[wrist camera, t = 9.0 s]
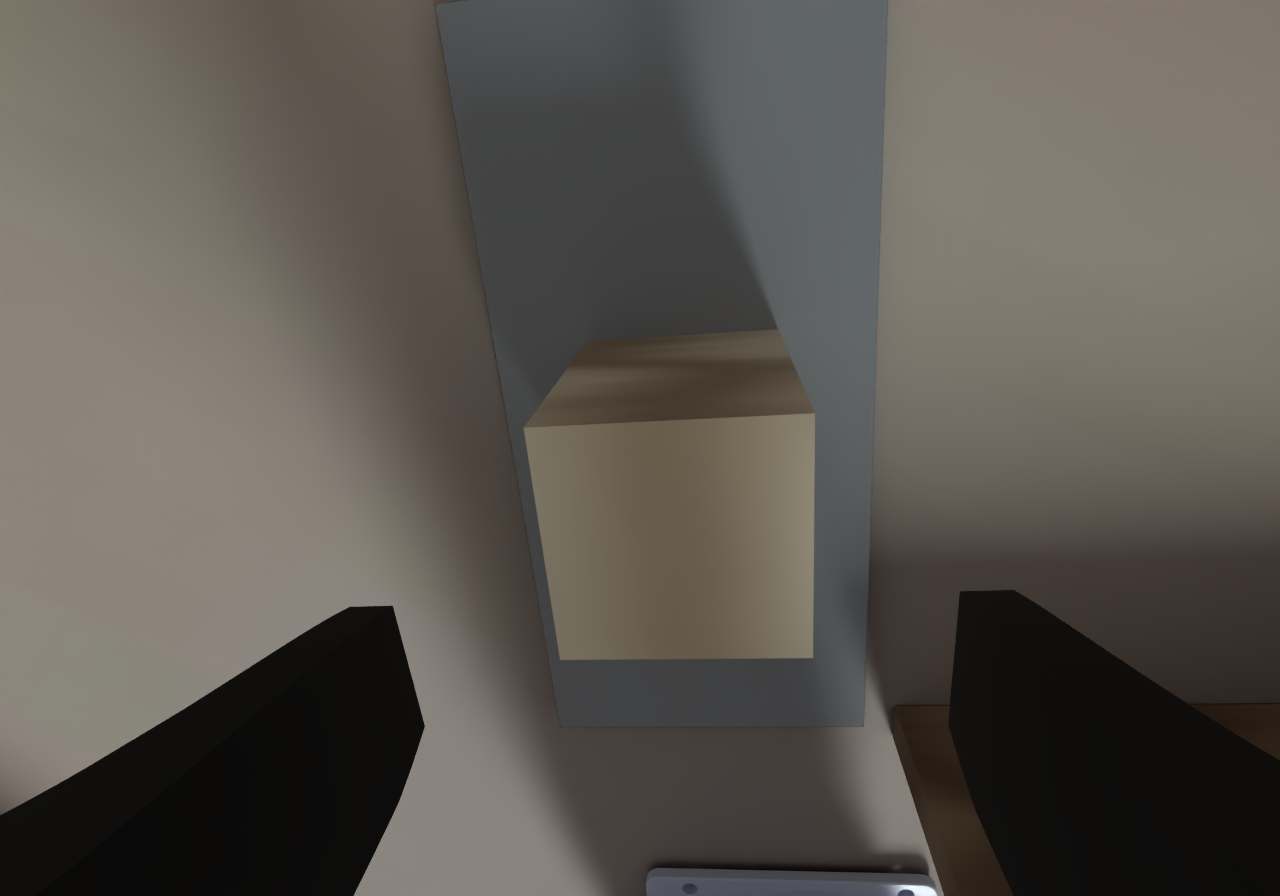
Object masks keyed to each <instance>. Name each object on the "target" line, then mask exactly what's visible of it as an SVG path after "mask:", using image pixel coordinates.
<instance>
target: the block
mask: <svg viewBox="0 0 1280 896" xmlns="http://www.w3.org/2000/svg"><path fill="white" fill-rule="evenodd" d="M524 433H525V440H526V446H527V453H528V459H529V465H530V472H531V478H532V484H533V491H534V497H535V504H536V510H537V516H538V523H539V529H540V535H541V542H542V548H543V554H544V561H545V567H546V574H547V580H548V586H549V593H550V599H551V605H552V612H553V618H554V625H555V631H556V637H557V644H558V650H559V656H560V660H628V659H757V658H813V602H814V478H815V412H814V410H813V408H812V405H811V403H810V401H809V398H808V396H807V394H806V392H805V389H804V387H803V385H802V382H801V380H800V378H799V376H798V373H797V371H796V369H795V366H794V364H793V362H792V360H791V357H790V355H789V353H788V350H787V348H786V346H785V344H784V341H783V339H782V337H781V334H780V332H779V330H778V329H773V330H758V331H742V332H726V333H711V334H695V335H680V336H664V337H649V338H633V339H617V340H602V341H587V342H586V343H585V345H584V346H583V347H582V349H581V350H580V351H579V353H578V354H577V356H576V357H575V358H574V360H573V361H572V362H571V364H570V365H569V366H568V368H567V369H566V371H565V372H564V373H563V375H562V376H561V377H560V379H559V380H558V381H557V383H556V384H555V386H554V387H553V388H552V390H551V391H550V392H549V394H548V395H547V396H546V398H545V399H544V401H543V402H542V403H541V405H540V406H539V407H538V409H537V410H536V412H535V413H534V414H533V416H532V417H531V418H530V420H529V421H528V422H527V424H526V425H525V427H524Z"/></svg>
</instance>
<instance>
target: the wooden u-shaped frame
mask: <svg viewBox="0 0 1280 896" xmlns="http://www.w3.org/2000/svg"><path fill="white" fill-rule="evenodd" d="M1190 706H1192V707H1193V708H1195V709H1197V710H1198V711H1200V712H1201V713H1203V714H1204V715H1206V716H1208V717H1209V718H1211V719H1212V720H1214V721H1216V722H1217V723H1219V724H1220V725H1222V726H1224V727H1225V728H1227V729H1229V730H1230V731H1232V732H1233V733H1235V734H1237V735H1238V736H1240V737H1241V738H1243V739H1245V740H1246V741H1248V742H1250V743H1251V744H1253V745H1255V746H1256V747H1258V748H1260V749H1261V750H1263V751H1265V752H1266V753H1268V754H1270V755H1272V756H1273V757H1275V758H1277V759H1278V760H1280V704H1197V705H1190ZM949 710H950V706H895V711H894V730H893V739H894V742H895V745H896V748H897V751H898V754H899V757H900V760H901V763H902V767H903V770H904V773H905V776H906V779H907V782H908V785H909V788H910V791H911V794H912V797H913V800H914V804H915V807H916V810H917V813H918V816H919V819H920V822H921V825H922V828H923V831H924V834H925V837H926V841H927V844H928V847H929V850H930V853H931V856H932V859H933V862H934V865H935V868H936V871H937V874H938V877H939V881H940V884H941V887H942V890H943V893H944V896H1013V894H1012V892H1011V889H1010V887H1009V885H1008V883H1007V881H1006V878H1005V876H1004V874H1003V872H1002V869H1001V867H1000V865H999V863H998V860H997V858H996V856H995V854H994V851H993V849H992V847H991V845H990V843H989V840H988V838H987V836H986V834H985V831H984V829H983V827H982V824H981V822H980V820H979V818H978V815H977V813H976V811H975V808H974V805H973V802H972V799H971V796H970V793H969V790H968V787H967V784H966V781H965V778H964V775H963V772H962V769H961V766H960V762H959V759H958V756H957V753H956V749H955V746H954V743H953V739H952V736H951V733H950V730H949V726H948V721H949Z"/></svg>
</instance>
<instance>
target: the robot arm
mask: <svg viewBox="0 0 1280 896" xmlns="http://www.w3.org/2000/svg"><path fill="white" fill-rule="evenodd" d="M948 726H949V730H950V733H951V736H952V739H953V743H954V746H955V749H956V753H957V756H958V759H959V762H960V766H961V769H962V772H963V775H964V778H965V781H966V784H967V787H968V790H969V793H970V796H971V799H972V802H973V805H974V808H975V811H976V813H977V815H978V818H979V820H980V822H981V824H982V827H983V829H984V831H985V834H986V836H987V838H988V840H989V843H990V845H991V847H992V849H993V851H994V854H995V856H996V858H997V860H998V863H999V865H1000V867H1001V869H1002V872H1003V874H1004V876H1005V878H1006V881H1007V883H1008V885H1009V887H1010V889H1011V892H1012V894H1013V896H1280V760H1278V759H1277V758H1275V757H1273V756H1272V755H1270V754H1268V753H1266V752H1265V751H1263V750H1261V749H1260V748H1258V747H1256V746H1255V745H1253V744H1251V743H1250V742H1248V741H1246V740H1245V739H1243V738H1241V737H1240V736H1238V735H1237V734H1235V733H1233V732H1232V731H1230V730H1229V729H1227V728H1225V727H1224V726H1222V725H1220V724H1219V723H1217V722H1216V721H1214V720H1212V719H1211V718H1209V717H1208V716H1206V715H1204V714H1203V713H1201V712H1200V711H1198V710H1197V709H1195V708H1193V707H1192V706H1190V705H1189V704H1187V703H1186V702H1184V701H1182V700H1181V699H1179V698H1178V697H1176V696H1175V695H1173V694H1172V693H1170V692H1169V691H1167V690H1165V689H1164V688H1162V687H1161V686H1159V685H1158V684H1156V683H1155V682H1153V681H1152V680H1150V679H1149V678H1147V677H1145V676H1144V675H1142V674H1141V673H1139V672H1138V671H1136V670H1135V669H1133V668H1132V667H1130V666H1129V665H1127V664H1126V663H1124V662H1123V661H1121V660H1120V659H1118V658H1117V657H1115V656H1114V655H1112V654H1111V653H1109V652H1108V651H1106V650H1105V649H1103V648H1102V647H1100V646H1099V645H1097V644H1096V643H1095V642H1093V641H1092V640H1090V639H1089V638H1087V637H1086V636H1084V635H1083V634H1081V633H1080V632H1078V631H1077V630H1075V629H1074V628H1072V627H1071V626H1069V625H1068V624H1066V623H1065V622H1063V621H1062V620H1060V619H1059V618H1057V617H1056V616H1054V615H1053V614H1051V613H1050V612H1048V611H1047V610H1045V609H1044V608H1042V607H1041V606H1039V605H1037V604H1036V603H1034V602H1033V601H1031V600H1030V599H1028V598H1026V597H1025V596H1023V595H1021V594H1020V593H1018V592H1016V591H1014V590H1001V591H961V592H960V598H959V609H958V620H957V631H956V643H955V654H954V665H953V676H952V687H951V699H950V710H949V721H948ZM424 727H425V725H424V722H423V718H422V714H421V710H420V707H419V703H418V699H417V695H416V692H415V688H414V684H413V680H412V677H411V673H410V669H409V665H408V661H407V658H406V654H405V650H404V646H403V643H402V639H401V635H400V631H399V628H398V624H397V620H396V616H395V613H394V609H393V606H368V607H349V608H347V609H345V610H343V611H341V612H339V613H337V614H335V615H334V616H332V617H330V618H328V619H327V620H325V621H323V622H321V623H320V624H318V625H316V626H315V627H313V628H311V629H310V630H308V631H306V632H305V633H303V634H302V635H300V636H298V637H297V638H295V639H294V640H292V641H290V642H289V643H287V644H286V645H284V646H283V647H281V648H279V649H278V650H276V651H275V652H273V653H272V654H270V655H268V656H267V657H265V658H264V659H262V660H261V661H259V662H257V663H256V664H254V665H253V666H251V667H250V668H248V669H246V670H245V671H243V672H242V673H240V674H239V675H237V676H236V677H234V678H232V679H231V680H229V681H228V682H226V683H225V684H223V685H221V686H220V687H218V688H217V689H215V690H214V691H212V692H210V693H209V694H207V695H206V696H204V697H203V698H201V699H199V700H198V701H196V702H195V703H193V704H192V705H190V706H188V707H187V708H185V709H184V710H182V711H180V712H179V713H177V714H175V715H174V716H172V717H170V718H169V719H167V720H165V721H164V722H162V723H160V724H159V725H157V726H155V727H154V728H152V729H150V730H149V731H147V732H145V733H144V734H142V735H140V736H139V737H137V738H135V739H134V740H132V741H130V742H129V743H127V744H125V745H124V746H122V747H120V748H119V749H117V750H115V751H114V752H112V753H110V754H109V755H107V756H105V757H104V758H102V759H100V760H99V761H97V762H95V763H94V764H92V765H90V766H89V767H87V768H85V769H84V770H82V771H80V772H78V773H77V774H75V775H73V776H71V777H70V778H68V779H66V780H64V781H63V782H61V783H59V784H57V785H56V786H54V787H52V788H50V789H48V790H46V791H45V792H43V793H41V794H39V795H37V796H36V797H34V798H32V799H30V800H28V801H27V802H25V803H23V804H21V805H19V806H17V807H15V808H13V809H12V810H10V811H8V812H6V813H4V814H2V815H0V896H353V895H354V893H355V891H356V889H357V887H358V885H359V883H360V881H361V879H362V877H363V875H364V873H365V871H366V869H367V867H368V865H369V863H370V861H371V859H372V857H373V855H374V853H375V851H376V849H377V847H378V845H379V842H380V840H381V838H382V836H383V834H384V832H385V830H386V828H387V826H388V824H389V822H390V820H391V818H392V815H393V813H394V811H395V809H396V807H397V805H398V803H399V800H400V797H401V795H402V792H403V789H404V786H405V784H406V781H407V778H408V775H409V773H410V770H411V767H412V764H413V761H414V758H415V755H416V752H417V749H418V746H419V743H420V740H421V737H422V734H423V730H424ZM646 892H647V896H938V893H937V889H936V886H935V883H934V881H933V880H932V878H930V877H928V876H926V875H923V874H901V873H859V872H816V871H774V870H732V869H689V868H655V869H653V870H651V871H649V873H648V874H647V879H646Z"/></svg>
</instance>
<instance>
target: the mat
mask: <svg viewBox="0 0 1280 896" xmlns="http://www.w3.org/2000/svg"><path fill="white" fill-rule="evenodd" d="M435 7H436V13H437V19H438V25H439V31H440V36H441V42H442V48H443V54H444V59H445V65H446V71H447V77H448V82H449V88H450V94H451V100H452V106H453V111H454V117H455V123H456V129H457V134H458V140H459V146H460V152H461V158H462V163H463V169H464V175H465V181H466V186H467V192H468V198H469V204H470V209H471V215H472V221H473V227H474V233H475V238H476V244H477V250H478V256H479V261H480V267H481V273H482V279H483V284H484V290H485V296H486V302H487V308H488V313H489V319H490V325H491V331H492V336H493V342H494V348H495V354H496V360H497V365H498V371H499V377H500V383H501V388H502V394H503V400H504V406H505V411H506V417H507V423H508V429H509V435H510V440H511V446H512V452H513V458H514V463H515V469H516V475H517V481H518V487H519V492H520V498H521V504H522V510H523V515H524V521H525V527H526V533H527V538H528V544H529V550H530V556H531V562H532V567H533V573H534V579H535V585H536V590H537V596H538V602H539V608H540V613H541V619H542V625H543V631H544V637H545V642H546V648H547V654H548V660H549V665H550V671H551V677H552V683H553V689H554V694H555V700H556V706H557V712H558V717H559V723H560V727H864V707H865V677H866V647H867V617H868V587H869V557H870V527H871V497H872V467H873V437H874V407H875V377H876V347H877V317H878V287H879V257H880V227H881V197H882V167H883V137H884V107H885V76H886V46H887V16H888V0H464V1H456V2H449V3H442V4H435ZM773 329H778V330H779V332H780V334H781V337H782V339H783V341H784V344H785V346H786V348H787V350H788V353H789V355H790V357H791V360H792V362H793V364H794V366H795V369H796V371H797V373H798V376H799V378H800V380H801V382H802V385H803V387H804V389H805V392H806V394H807V396H808V398H809V401H810V403H811V405H812V408H813V410H814V412H815V478H814V602H813V658H757V659H628V660H560V656H559V650H558V644H557V637H556V631H555V625H554V618H553V612H552V605H551V599H550V593H549V586H548V580H547V574H546V567H545V561H544V554H543V548H542V542H541V535H540V529H539V523H538V516H537V510H536V504H535V497H534V491H533V484H532V478H531V472H530V465H529V459H528V453H527V446H526V440H525V433H524V427H525V425H526V424H527V422H528V421H529V420H530V418H531V417H532V416H533V414H534V413H535V412H536V410H537V409H538V407H539V406H540V405H541V403H542V402H543V401H544V399H545V398H546V396H547V395H548V394H549V392H550V391H551V390H552V388H553V387H554V386H555V384H556V383H557V381H558V380H559V379H560V377H561V376H562V375H563V373H564V372H565V371H566V369H567V368H568V366H569V365H570V364H571V362H572V361H573V360H574V358H575V357H576V356H577V354H578V353H579V351H580V350H581V349H582V347H583V346H584V345H585V343H586V342H587V341H602V340H617V339H633V338H649V337H664V336H680V335H695V334H711V333H726V332H742V331H758V330H773Z"/></svg>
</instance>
